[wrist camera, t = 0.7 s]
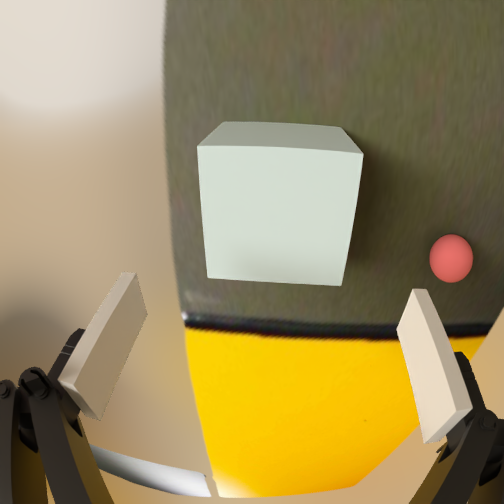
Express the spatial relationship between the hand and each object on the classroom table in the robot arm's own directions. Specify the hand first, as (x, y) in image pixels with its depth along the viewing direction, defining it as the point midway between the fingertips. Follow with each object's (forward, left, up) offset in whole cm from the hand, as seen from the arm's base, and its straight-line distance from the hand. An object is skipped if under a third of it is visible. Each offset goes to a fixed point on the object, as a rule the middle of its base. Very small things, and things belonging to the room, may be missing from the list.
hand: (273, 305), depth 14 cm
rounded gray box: (0, 0, -17) cm, 17 cm away
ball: (-4, +19, -14) cm, 24 cm away
